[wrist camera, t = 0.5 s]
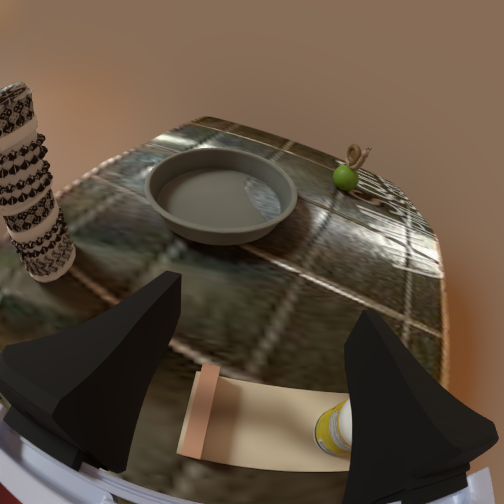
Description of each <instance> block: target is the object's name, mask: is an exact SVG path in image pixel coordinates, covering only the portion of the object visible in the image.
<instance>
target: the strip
mask: <svg viewBox="0 0 504 504" xmlns="http://www.w3.org/2000/svg"><path fill="white" fill-rule="evenodd" d="M219 373H220V367H219V366H215V365H210V364H206V363H203V365H202V369H201V372H198V371H197V372H196V376H195V380H194V384H193V388H192V391H191V395H190V399H189V403H188V407H187V411H186V416H185V420H184V424H183V428H182V432H181V436H180V440H179V444H178V449H177V453H178V454H181V455H184V456H188V457H192V458H196V459H203V460H207V461H212V462H217V463H223V464H229V465H235V466H241V467H249V468H257V469H267V470H279V471H298V472H333V471H349V466H350V458H351V453H350V454H345V455H329V454H326V453H324V452H323V451H322V450H320V449H319V448H318V446H317V445H316V443H315V440H314V435H313V430H314V426H315V423H316V421H317V420H318V418H319V417H320V416H321V415H322V414H323V413H324V412H326V411H328V410H329V409H331V408H333V407H335V406H336V405H338V404H340V403H341V402H343V401H345V400H347V399H348V398H349V394H346V393H330V392H318V391H308V390H299V389H291V388H283V387H276V386H269V385H263V384H257V383H251V382H245V381H240V380H235V379H230V378H225V377H220V376H219Z"/></svg>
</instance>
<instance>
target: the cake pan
mask: <svg viewBox="0 0 504 504" xmlns="http://www.w3.org/2000/svg"><path fill="white" fill-rule="evenodd" d="M248 177H252V178H254V179H256V180H258V181H260V182H261V183H263V184H265V185H266V186H267V187H268V188H269V189H270V190H271V191H272V192H273V193H274V194H275V197H277V199H278V201H279V204H280V216H278V217H276V218H275V219H273V220H270V221H268V222H267V221H266V218H265V217H263V216H262V215H261V212H260V210H258V209H257V208H256V207H254V206H253V204H252V203H251V201H250V199H249V197H248V195H247V193H246V191H245V189H244V188H245V187H244V186H246V185H245V184H244V181H245V178H247V179H249V178H248ZM144 188H145V194H146V198H147V199H148V201H149V203H150V204H151V206H152V207H153V208H154V209H155V210H156V211H157V212H158V215H159V217H160V219H161V220H162V222H163V223H164V224H165V225H166V226H167V227H168V228H169V229H170V230H172V231H173V232H175V233H176V234H178V235H180V236H182V237H184V238H186V239H189V240H192V241H195V242H199V243H204V244H209V245H237V244H243V243H248V242H251V241H254V240H257V239H259V238H261V237H263V236H265V235H267V234H268V233H270V232H271V231H272V230H273V229H274V228H275V227H276V226H277V224H278V223H279V222H281V221H282V220H284V219H285V218H286V217H288V216H289V215H290V213H291V212H292V211H293V210H294V208H295V206H296V204H297V198H298V194H297V189H296V186H295V184H294V182H293V181H292V179H291V178H290V176H289V175H288V174H287V173H286V172H285V171H284V170H282V169H281V168H280V167H278V166H277V165H276V164H274V163H272V162H271V161H269V160H267V159H265V158H262V157H260V156H258V155H255V154H252V153H248V152H244V151H240V150H234V149H227V148H201V149H193V150H188V151H184V152H181V153H178V154H175V155H172V156H170V157H168V158H166V159H164V160H163V161H161V162H160V163H158V164H157V165H156V166H155V167H154V168H153V169H152V170H151V171H150V173H149V174H148V176H147V178H146V181H145V187H144Z"/></svg>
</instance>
